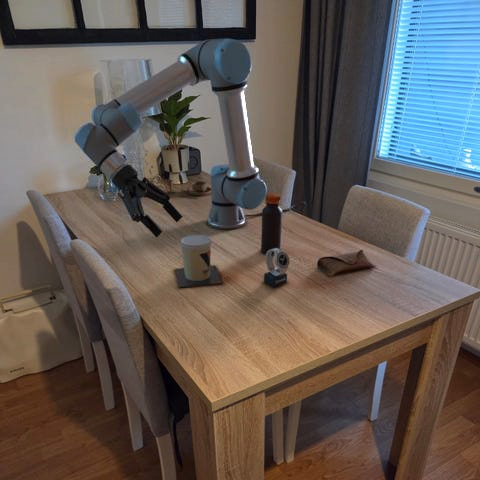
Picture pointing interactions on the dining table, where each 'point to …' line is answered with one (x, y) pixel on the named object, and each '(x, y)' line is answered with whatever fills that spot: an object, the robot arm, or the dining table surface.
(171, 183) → the place setting
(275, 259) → the watch
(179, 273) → the coaster
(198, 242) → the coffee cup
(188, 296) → the dining table surface
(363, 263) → the sunglasses case
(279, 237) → the bottle
